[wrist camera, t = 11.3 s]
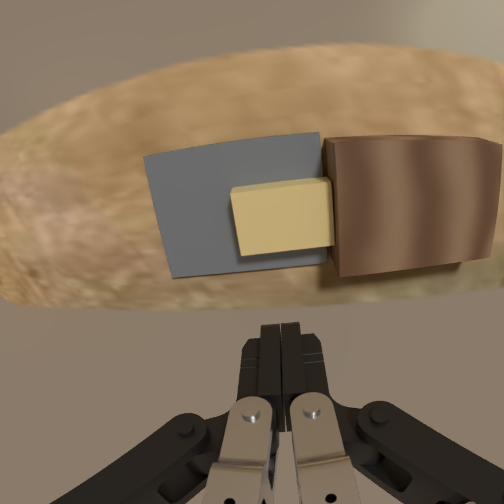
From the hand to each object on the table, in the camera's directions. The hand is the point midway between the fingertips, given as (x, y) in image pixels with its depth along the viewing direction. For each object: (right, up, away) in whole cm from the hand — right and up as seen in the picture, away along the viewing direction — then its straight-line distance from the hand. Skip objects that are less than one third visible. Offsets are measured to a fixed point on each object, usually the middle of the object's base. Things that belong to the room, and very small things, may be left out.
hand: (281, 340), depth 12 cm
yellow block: (+2, +7, +15) cm, 17 cm away
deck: (+14, +9, +14) cm, 22 cm away
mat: (-2, +7, +16) cm, 17 cm away
